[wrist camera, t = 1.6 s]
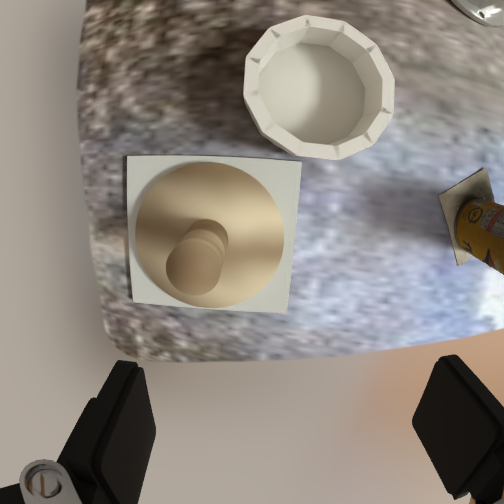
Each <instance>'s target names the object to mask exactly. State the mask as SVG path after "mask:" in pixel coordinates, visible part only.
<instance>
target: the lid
mask: <svg viewBox="0 0 504 504" xmlns="http://www.w3.org/2000/svg"><path fill="white" fill-rule="evenodd" d="M135 239H136V247H137V251H138V255H139V257H140V260H141V263H142V265H143V267H144V268H145V270H146V272H147V273H148V275H149V276H150V278H151V279H152V280H153V281H154V282H155V284H156V285H157V286H158V287H159V288H161V289H162V290H163V291H164V292H165V293H167V294H168V295H170V296H171V297H173V298H175V299H177V300H179V301H181V302H183V303H186V304H188V305H192V306H196V307H203V308H222V307H228V306H232V305H235V304H238V303H241V302H243V301H245V300H247V299H249V298H251V297H252V296H254V295H255V294H256V293H258V292H259V291H260V290H261V289H262V288H263V287H265V285H266V284H267V283H268V282H269V281H270V280H271V278H272V276H273V275H274V273H275V272H276V270H277V268H278V265H279V263H280V260H281V257H282V254H283V248H284V228H283V222H282V218H281V215H280V212H279V210H278V207H277V205H276V203H275V201H274V200H273V198H272V196H271V195H270V193H269V192H268V191H267V190H266V188H265V187H264V186H263V185H262V184H261V183H260V182H259V181H258V180H256V179H255V178H254V177H252V176H251V175H250V174H248V173H246V172H244V171H243V170H241V169H238V168H236V167H233V166H230V165H226V164H222V163H214V162H203V163H196V164H190V165H187V166H184V167H181V168H178V169H176V170H174V171H172V172H170V173H169V174H167V175H166V176H164V177H163V178H161V179H160V180H159V181H158V182H157V183H156V184H155V185H154V186H153V187H152V188H151V190H150V191H149V192H148V194H147V195H146V197H145V198H144V200H143V202H142V204H141V206H140V209H139V212H138V215H137V220H136V226H135Z"/></svg>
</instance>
